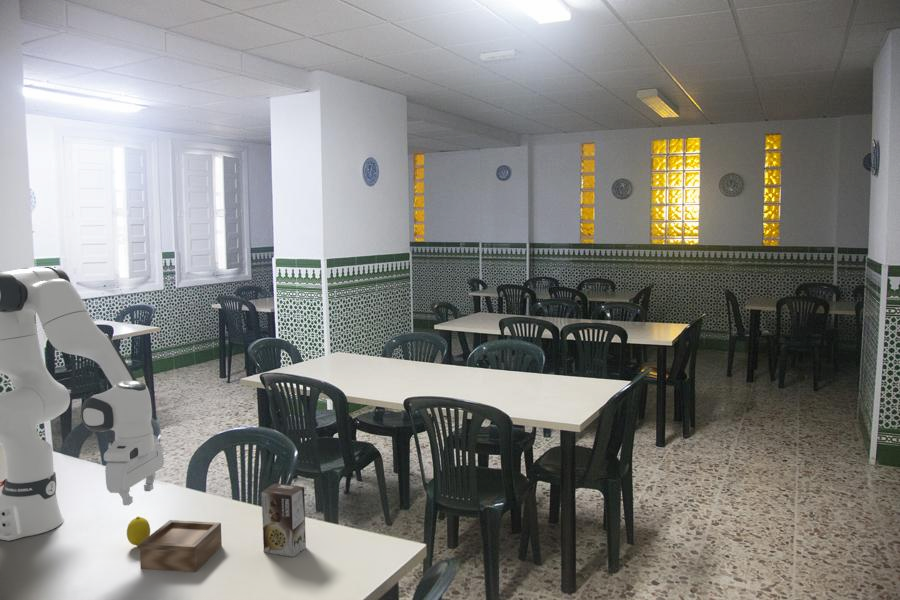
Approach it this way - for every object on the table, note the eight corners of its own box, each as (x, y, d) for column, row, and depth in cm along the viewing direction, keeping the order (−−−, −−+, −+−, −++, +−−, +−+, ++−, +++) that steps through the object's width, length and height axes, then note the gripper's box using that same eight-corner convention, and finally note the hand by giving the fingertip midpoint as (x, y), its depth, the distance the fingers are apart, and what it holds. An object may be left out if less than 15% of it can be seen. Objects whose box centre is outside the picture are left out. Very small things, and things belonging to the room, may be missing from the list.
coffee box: (306, 546, 179) (305, 486, 178) (293, 557, 173) (292, 495, 172) (276, 541, 182) (275, 482, 181) (262, 552, 176) (260, 490, 175)
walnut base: (140, 568, 168) (139, 543, 167) (170, 542, 181) (169, 520, 181) (195, 571, 166) (194, 547, 165) (221, 545, 180) (220, 522, 179)
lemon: (142, 552, 176) (140, 521, 175) (122, 550, 177) (121, 520, 176) (155, 542, 182) (154, 513, 181) (136, 541, 183) (135, 511, 182)
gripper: (146, 432, 187) (149, 482, 189) (99, 456, 167) (103, 512, 168) (168, 433, 187) (171, 483, 188) (123, 457, 166) (127, 513, 168)
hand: (138, 497), depth 178 cm, fingers open, 8 cm apart
